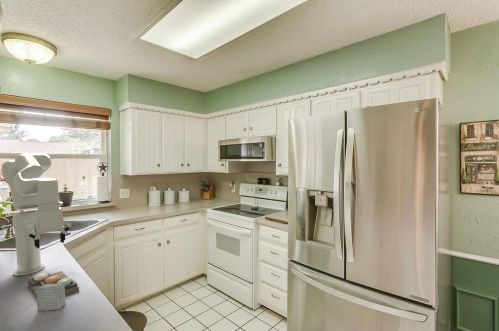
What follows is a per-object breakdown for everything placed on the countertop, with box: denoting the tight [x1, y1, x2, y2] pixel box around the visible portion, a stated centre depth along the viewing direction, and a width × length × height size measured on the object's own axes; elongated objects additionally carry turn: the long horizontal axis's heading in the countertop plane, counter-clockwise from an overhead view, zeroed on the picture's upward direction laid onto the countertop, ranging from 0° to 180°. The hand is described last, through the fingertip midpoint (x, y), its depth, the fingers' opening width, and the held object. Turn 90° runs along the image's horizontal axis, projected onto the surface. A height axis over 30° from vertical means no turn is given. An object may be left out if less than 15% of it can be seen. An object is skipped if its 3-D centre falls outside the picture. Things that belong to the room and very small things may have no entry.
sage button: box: [57, 277, 72, 287], centre depth 112 cm, size 5×5×2 cm
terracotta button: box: [45, 275, 59, 284], centre depth 115 cm, size 5×5×2 cm
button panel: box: [27, 271, 80, 298], centre depth 115 cm, size 26×13×3 cm, turn 50°
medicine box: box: [36, 283, 66, 312], centre depth 99 cm, size 8×4×9 cm, turn 92°
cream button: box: [33, 272, 49, 282], centre depth 118 cm, size 5×5×2 cm
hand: (50, 244), depth 114 cm, fingers open, 8 cm apart
